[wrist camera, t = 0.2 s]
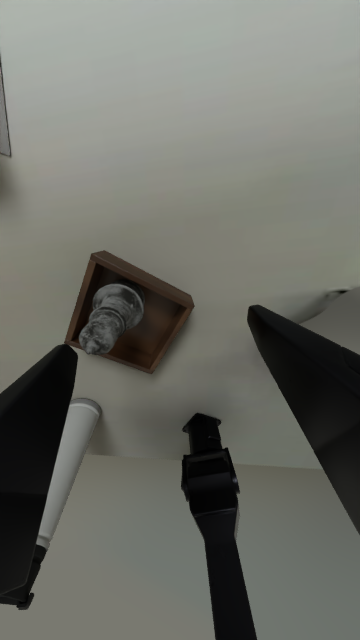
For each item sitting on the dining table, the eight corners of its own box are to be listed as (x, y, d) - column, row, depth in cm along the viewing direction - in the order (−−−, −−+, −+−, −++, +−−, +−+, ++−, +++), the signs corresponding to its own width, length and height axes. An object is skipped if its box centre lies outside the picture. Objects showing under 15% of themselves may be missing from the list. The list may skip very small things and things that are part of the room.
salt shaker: (103, 314, 24) (51, 379, 13) (102, 273, 21) (35, 312, 11) (145, 319, 25) (127, 385, 14) (149, 280, 22) (129, 323, 11)
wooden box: (153, 357, 28) (151, 374, 25) (77, 328, 25) (63, 343, 22) (191, 295, 24) (194, 305, 20) (104, 250, 20) (91, 253, 17)
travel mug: (101, 420, 35) (31, 612, 17) (67, 416, 34) (-46, 618, 16) (104, 400, 32) (25, 603, 15) (67, 395, 31) (-67, 608, 13)
